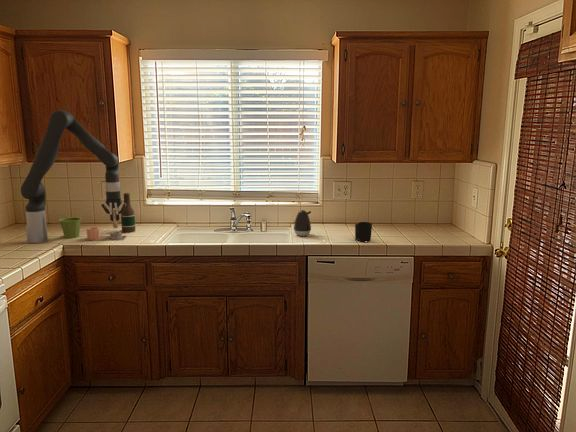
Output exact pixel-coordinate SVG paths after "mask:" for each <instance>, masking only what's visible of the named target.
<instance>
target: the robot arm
mask: <svg viewBox="0 0 576 432" xmlns="http://www.w3.org/2000/svg"><path fill="white" fill-rule="evenodd" d="M65 130H67V131H69V132H70V133H71V134H72V135H74V136H75V138H77V139H78V141H79V142H80V143H81V144H82V145H83V147H84V148H86V149H87V150H88V152H91V153H92V154H93V155H94V156H96V158H97V159H98V160H99V161H100V162H101V163H102V164H103V165H104V166H105V173H104V174H105V175H104V179H105V180H104V181H105V198H106V199H105V202H103V203H102V204H101V205H100V206H101V208H102V209H103V211H105V214H107V215H108V214H109V217H110V219H109V220H110V221H111V222H113V215H112V210H116V221H117V222H119V220H121V217H120V215H121V213H122V212H123V210H124V208H125V206H126V203H124V201H122V195H121V183H120V174H119V164H120V163H119V157H118V156H117V155H116V153H112V152H111V151H109V150H108V149H107V148H106V147H105V145H104V144H103V143H101V142H100V141H99V140H98V139H97V138H95V137H94V136H93V135H92V134H91V133H89V131H88V130H86V129H85V128H84V127H83V126H82V125H81V124H80V123H79V122H78V121H77V119H76V118H75V117H74V116H73V114H72V113H70V112H69V110H65V109H60V110H59V109H58V110H55V111H54V112H52V113H51V115H50V117H49V122H48V125H47V128H46V131H45V134H44V136H43V138H42V141H41V142H40V145H39V146H38V149H37V152H36V154H35V156H34V159H33V162H32V164H31V167H30V170H29V172H28V174H27V176H26V177H25V180H24V181H23V182H22V185H21V187H20V194H21V196H22V198H24V199H25V200H28V203H27V204H26V205H25V216H26V225H25V232H26V242H27V243H29V244H41V243H45V242H48V240H49V239H48V229H47V216H46V203H47V197H46V196H47V195H46V188H45V185H44V183H43V182H42V181H43V178H44V177H45V175H46V174H47V173H48V172H49V171H50V169H51V168H52V167H53V165H54V164H55V161H56V159H57V157H58V153H59V151H60V150H59V149H60V142H61V141H60V140H61V137H62V136H63V133H64V132H65ZM107 206H108V207H109V209H108V207H107ZM120 206H121V208H120Z"/></svg>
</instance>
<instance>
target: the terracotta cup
mask: <svg viewBox="0 0 576 432" xmlns="http://www.w3.org/2000/svg"><path fill="white" fill-rule="evenodd" d="M100 236H101V231H100V227H98V226H92V227H87V228H86V239H88V240H97V239H100Z"/></svg>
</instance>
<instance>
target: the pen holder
mask: <svg viewBox="0 0 576 432" xmlns="http://www.w3.org/2000/svg"><path fill="white" fill-rule="evenodd" d="M354 228H355V229H354V235H355V236H354V239H355V241H356V240H357V241H364V242H363V243H366V242H365V241H370V240H372V230H373V223H372V222H368V221H360V222H358V223H354ZM357 241H356V242H357ZM370 242H371V241H370Z"/></svg>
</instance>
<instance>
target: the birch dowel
mask: <svg viewBox="0 0 576 432" xmlns="http://www.w3.org/2000/svg"><path fill="white" fill-rule="evenodd" d="M112 215H113V221H112V227H113V229H118V227H119V226H118V221H116V210H115V209H113V210H112Z"/></svg>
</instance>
